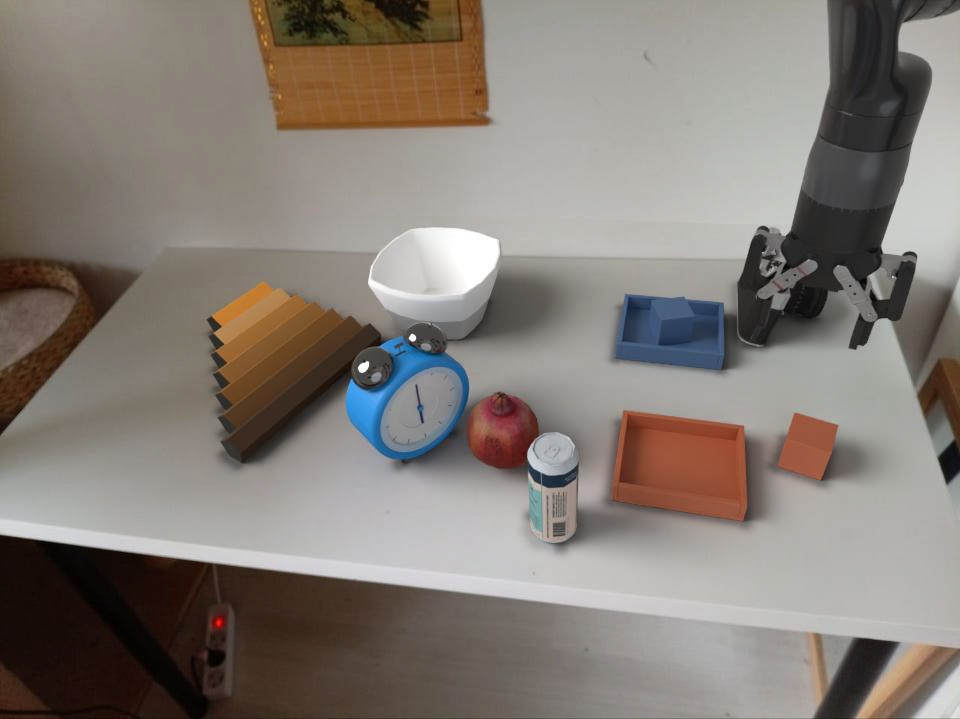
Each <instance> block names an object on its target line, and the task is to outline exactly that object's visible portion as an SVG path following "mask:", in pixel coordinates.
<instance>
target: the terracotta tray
mask: <svg viewBox="0 0 960 719" xmlns="http://www.w3.org/2000/svg"><path fill="white" fill-rule="evenodd" d="M745 432H746V431H745V425H743V424H734V423H727V422H720V421H712V420H704V419H697V418H688V417H681V416H672V415H665V414H657V413H650V412H649V413H648V412H641V411H634V410H626V409H624V410H622V417H621V424H620V431H619V436H618V438H619V439H618V444H617V451H616V459H615V465H614V466H615V467H614V472H613V480H612V488H611V501H614V502H621V503H627V504H633V505H639V506H645V507H651V508H657V509H662V510H663V509H664V510H670V511H676V512H682V513H689V514H694V515H701V516H708V517H713V518H721V519H727V520H733V521H739V522H744V520H745V516H746V513H747V510H748V507H749V506H748V487H747V486H748V485H747V484H748V483H747V461H746V460H747V459H746V436H745Z"/></svg>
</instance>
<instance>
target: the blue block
mask: <svg viewBox="0 0 960 719" xmlns="http://www.w3.org/2000/svg"><path fill="white" fill-rule="evenodd" d="M686 299H687V298H686V297H685V296H676V297H667V299H658V300H652V302H651V310H650V319H649V328H650V330H651V332H652V334H653V336H654V339H655V341H656V343H657V345H660V346H664V345H673V344H681V343H690V342H691V337H692V331H693V325H694V320H695V315H694V313H693V311H692V310H691V308H690V306H689V304H688V303H687V301H686Z"/></svg>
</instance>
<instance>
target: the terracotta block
mask: <svg viewBox="0 0 960 719" xmlns="http://www.w3.org/2000/svg"><path fill="white" fill-rule="evenodd" d="M838 430H839V424H837V423H833V422H829V421H826V420H823V419H819V418H817V417H811V416H809V415H805V414H802V413H798V412H794V413H793V415H792V419H791V421H790V424H789V427H788V431H787V433H786V437H785V440H784V443H783V445H782V446H783V447H782V449H781V453H780V455H779V459H778V463H777V467H778V468H781V469H783V470H787V471H790V472H792V473H796V474H799V475H802V476H805V477H808V478H812V479H814V480H819V481H821V480H822V479H823V476H824V473H825V471H826V468H827V466H828V464H829V461H830V459H831V456H832V453H833V449H834V445H835V441H836V437H837V433H838Z"/></svg>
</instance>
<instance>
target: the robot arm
mask: <svg viewBox="0 0 960 719" xmlns="http://www.w3.org/2000/svg"><path fill="white" fill-rule="evenodd" d="M958 11H960V0H826V12H827V13H826V16H827V34H828V37H827V38H828V66H829V67H828V68H829V80H828V82H829V83H828V84H829V85H828V88H827V91H826V95H825V99H824V102H823V107H822V111H821V115H820V120H819V124H818V127H817V132H816V135H815V137H814V140H813V143H812V146H811V148H810V151H809V154H808V157H807V160H806V164H805V168H804V172H803V177H802V182H801V185H800V188H799V194H798V198H797V202H796V206H795V210H794V214H793V218H792V223H791V226H790V230H789V232H788V233H787V234H786V235H782V234H781V235H778V234H774V233H770V230H769V228H770V227H769V226H766V225H760V226H758V227H757V228H756V230H755V233H754V234H753V237H752V239H751V241H750V244H749V247H748V252H747V255H746V259H745V262H744V265H743V270H742V272H743V273H741V275H742V276H741V275H740V277H741V280H740V287H741V288H742V289H745V290H748V289H750V290H752V291H754V292H755V293H756V295H757V298H756V303H755V308H754V312H753V320H754V321H756V322H758V326H757V327H760V328H765V326H766V323H767V321H768V318H769V314H770V310H771V306H772V301H773V297H774V294H775V293H776V292H778V291H779V290H781V289H782V290H784V289H786V288H787V287H789V286H790V285H792V284H793V283H795V282H796V281H799V282H801V283H803V284H802V286H807V287H821V288H823V289H825V290H828V292H832V293H837V294H838V293H839V291H844V292H845V293H846V295H847V297H848V299H849V300H850V302H851V303H852V305H853V306H854V305H855V307H856V308H857V310H858V312H859V313H858V316H857V319H856V321H855V325H854V327H853V330H852V333H851V336H850V340H849V344H848V349H849V350H854V351H857V349H858V347H859V346H860V347H865V346H866V345H867V344H868V342H869V340H870V336H871V333H872V331H873V328H874V326H875V323H876V322H877V321H878V320H883V319H887V320H888V321H890V322H898V321H900V320H901V319H902V317H903V313H904V310H905V307H906V304H907V300H908V297H909V294H910V291H911V287H912V285H913V284H912V283H913V281H914V278H915V275H916V274H915V273H916V270H917V269H916V268H917V262H918V254H917V253H916V252H915V251H910V250H908V251H905V252H903V253H902V255H900V254H893V253H892V254H891V253H884V251H883V247H882V244H883V243H884V238H885V235H886V233H887V229H888V227H889V224H890V221H891V218H892V215H893V213H894V212H893V211H894V209H895V206H896V204H897V200H898V197H899V194H900V191H901V189H902V187H903V185H904V183H905V178H906V175H907V171H908V167H909V163H910V158H911V153H912V147H913V142H914V139H915V137H916V134H917V130H918V128H919V124H920V122H921V118H922V117H923V114H924V110H925V107H926V104H927V101H928V98H929V94H930V92H931V88H932V84H933V69H932V67H931V65H930V63H929V62H928V60H926V59H924V58H923V57H921V56H919V55H917V54H914V53H911V52H907V51H901V50H899V48H900V47H899V40H900V39H899V37H900V33H901V32H900V31H901V28H902V26H903V25H905V24H910V23H916V22H921V21H926V20H932V19H937V18H942V17H945V16H948V15H951V14H954V13H957V12H958ZM775 249H781V253H782V255H783V257H784V258H785V260H786V261H785V262H783V263H782V264H781V265H780V266H779V267H778V268H777V269H776V270H774V271H773V272H771V273H770V274H768V275H767V276H766V277H765V276H763V275H761V274H759V273H758V271H759V267H760V264H761V260H762V257H764V256H769V255H770V254H771V253H772V251H773V250H775ZM880 268H881V269H884V271H886V277H887V279H888V280H891V282H893V286H892V289H891V293H890V297H889V298H886V299H884V298H883V299H880V298H879V296H878V295H877V293H876V291H875V289H874V287H873V283H872V279H871V277H870V275H872V274H874V273H875V272H876V271H878V270H879V269H880Z"/></svg>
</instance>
